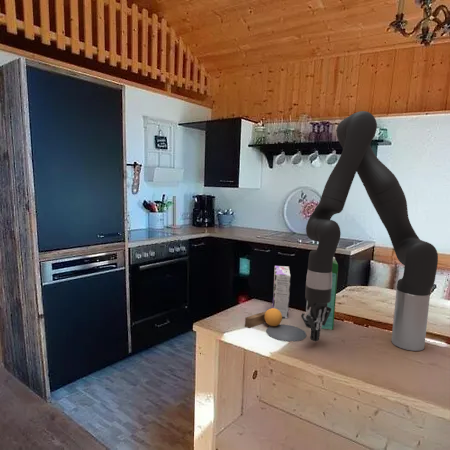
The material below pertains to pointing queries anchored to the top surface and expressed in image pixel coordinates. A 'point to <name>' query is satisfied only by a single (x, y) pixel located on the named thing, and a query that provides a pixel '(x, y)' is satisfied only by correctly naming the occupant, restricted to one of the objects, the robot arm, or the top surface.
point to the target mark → (286, 332)
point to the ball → (273, 317)
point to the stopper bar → (255, 320)
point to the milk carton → (331, 304)
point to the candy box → (281, 289)
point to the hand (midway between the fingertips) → (314, 340)
